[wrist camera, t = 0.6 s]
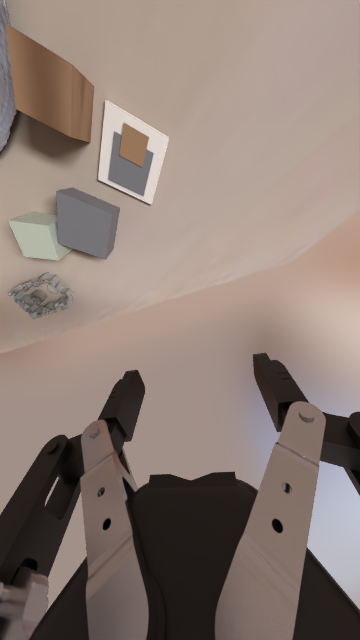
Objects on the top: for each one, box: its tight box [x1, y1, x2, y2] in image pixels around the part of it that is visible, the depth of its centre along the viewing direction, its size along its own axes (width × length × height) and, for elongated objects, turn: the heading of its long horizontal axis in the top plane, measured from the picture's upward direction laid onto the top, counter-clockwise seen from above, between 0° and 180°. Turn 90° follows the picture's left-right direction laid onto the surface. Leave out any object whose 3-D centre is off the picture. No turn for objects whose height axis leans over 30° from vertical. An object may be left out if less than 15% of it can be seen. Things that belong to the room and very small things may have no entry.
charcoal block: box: [56, 188, 120, 260], centre depth 28 cm, size 7×7×5 cm
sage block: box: [8, 212, 73, 261], centre depth 28 cm, size 5×5×6 cm
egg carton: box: [8, 272, 73, 319], centre depth 37 cm, size 11×8×4 cm
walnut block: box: [6, 24, 94, 142], centre depth 19 cm, size 5×5×6 cm
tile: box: [98, 100, 169, 205], centre depth 24 cm, size 8×8×1 cm
